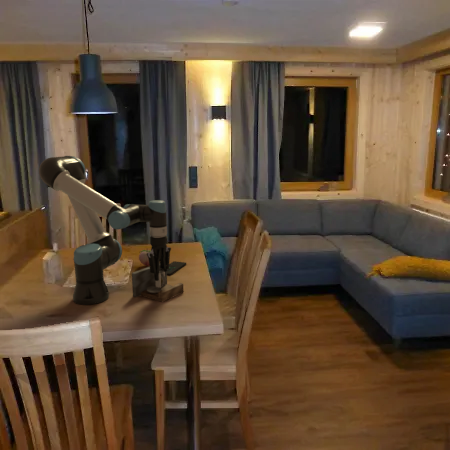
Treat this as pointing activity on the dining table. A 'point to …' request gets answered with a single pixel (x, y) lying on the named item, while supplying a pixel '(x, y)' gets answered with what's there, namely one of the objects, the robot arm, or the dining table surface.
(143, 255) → the decorative fruit
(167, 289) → the display stand
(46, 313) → the dining table surface
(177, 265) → the smart home device
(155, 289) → the pocket watch
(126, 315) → the dining table surface
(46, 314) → the dining table surface
